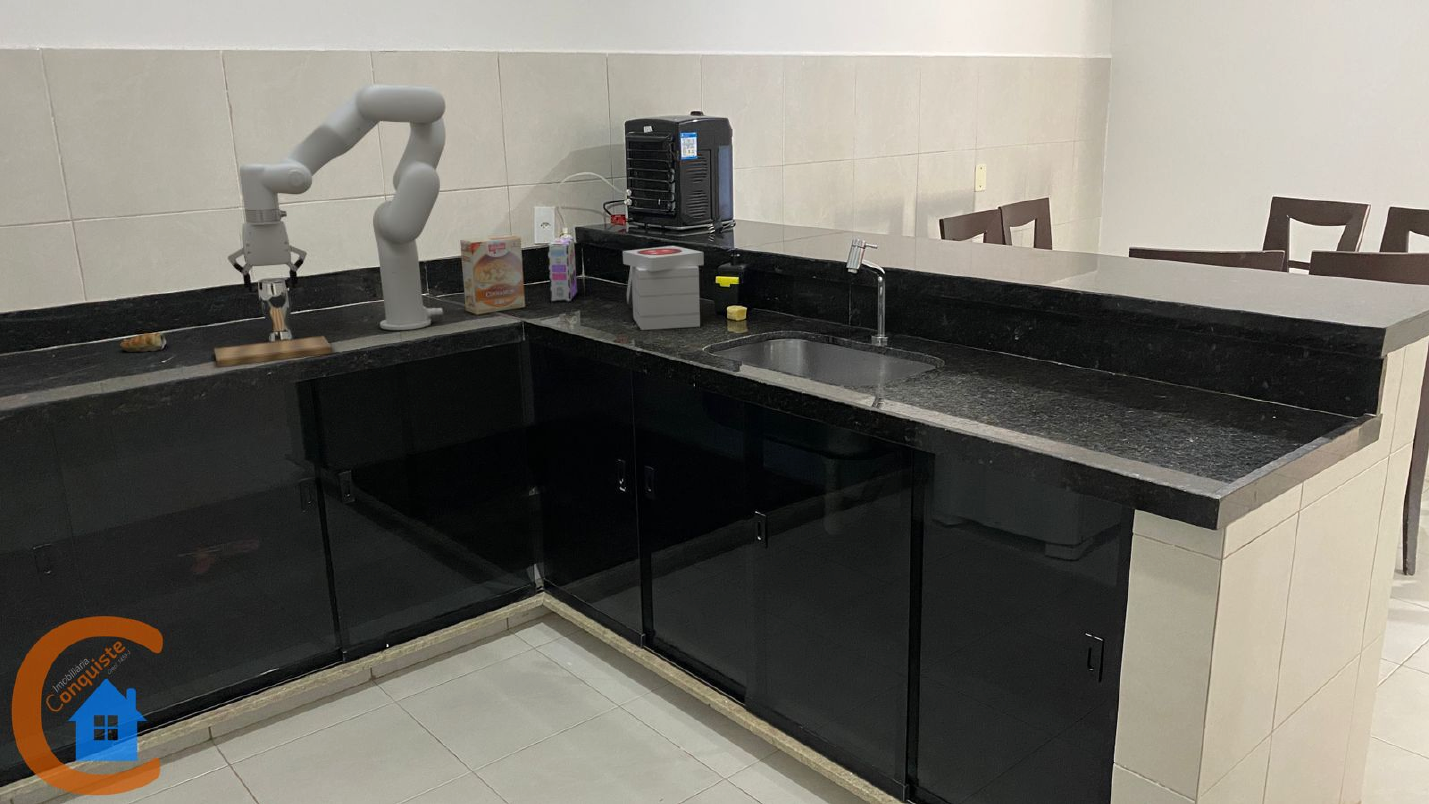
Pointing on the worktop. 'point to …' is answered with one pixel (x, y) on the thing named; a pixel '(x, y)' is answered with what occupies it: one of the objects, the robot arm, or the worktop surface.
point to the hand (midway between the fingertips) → (271, 288)
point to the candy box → (562, 269)
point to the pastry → (144, 342)
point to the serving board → (272, 351)
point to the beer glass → (276, 308)
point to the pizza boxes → (664, 286)
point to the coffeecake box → (492, 274)
